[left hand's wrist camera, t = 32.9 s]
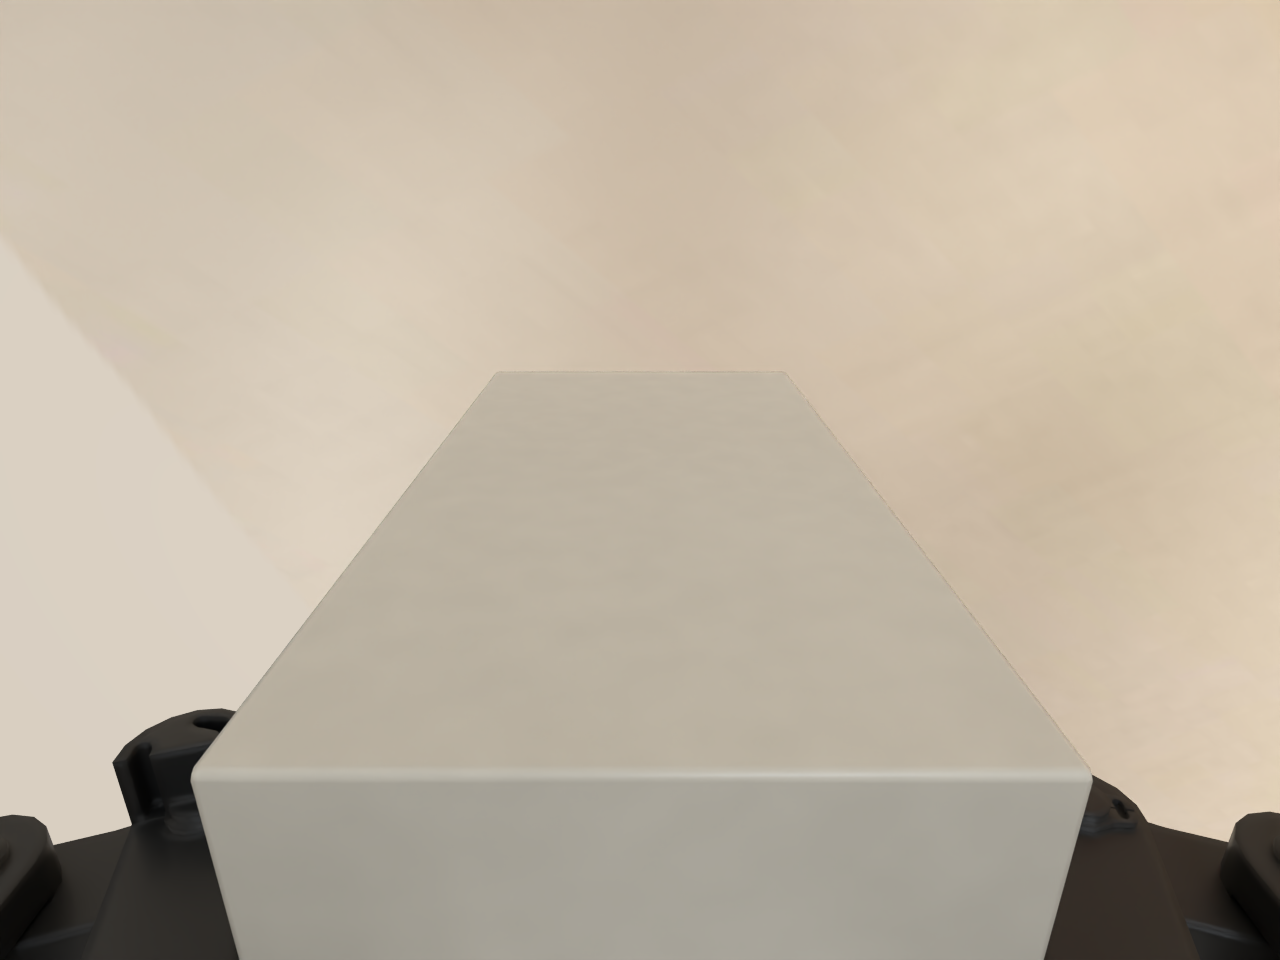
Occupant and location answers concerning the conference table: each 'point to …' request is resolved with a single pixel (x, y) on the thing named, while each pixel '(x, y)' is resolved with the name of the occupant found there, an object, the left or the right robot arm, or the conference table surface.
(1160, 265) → the conference table surface
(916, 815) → the block
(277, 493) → the conference table surface
